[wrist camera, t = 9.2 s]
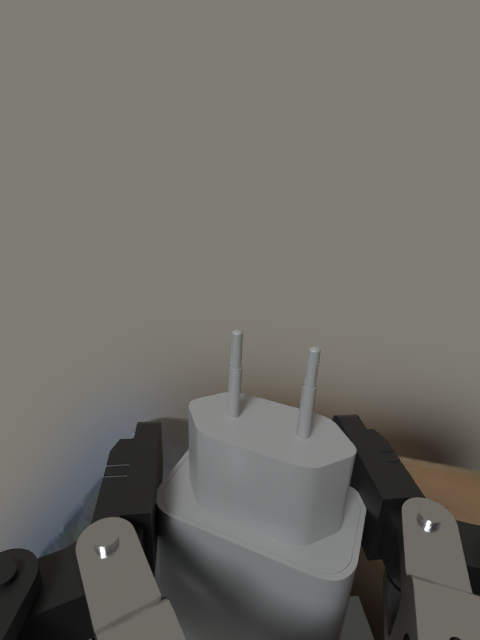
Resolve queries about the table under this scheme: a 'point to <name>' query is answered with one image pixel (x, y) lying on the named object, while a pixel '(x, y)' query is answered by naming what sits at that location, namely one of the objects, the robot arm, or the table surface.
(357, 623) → the docking plate
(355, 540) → the power adapter
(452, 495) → the table surface
